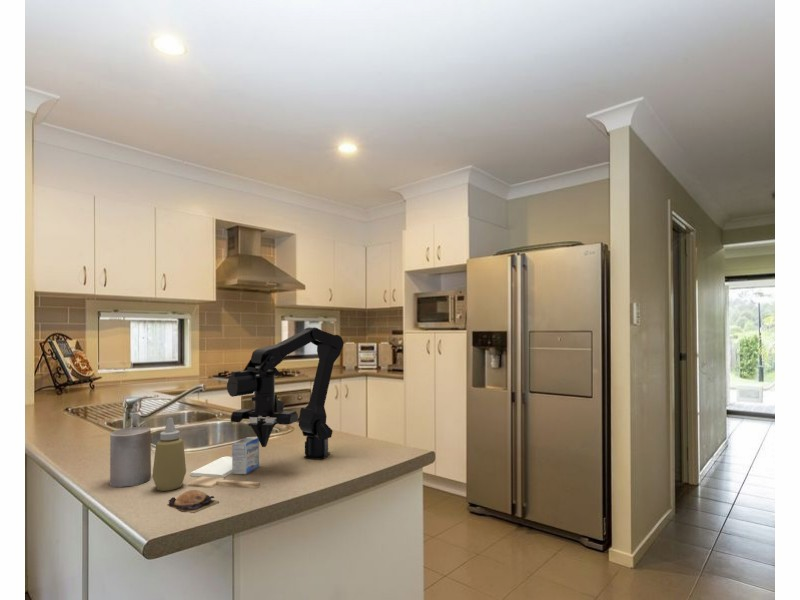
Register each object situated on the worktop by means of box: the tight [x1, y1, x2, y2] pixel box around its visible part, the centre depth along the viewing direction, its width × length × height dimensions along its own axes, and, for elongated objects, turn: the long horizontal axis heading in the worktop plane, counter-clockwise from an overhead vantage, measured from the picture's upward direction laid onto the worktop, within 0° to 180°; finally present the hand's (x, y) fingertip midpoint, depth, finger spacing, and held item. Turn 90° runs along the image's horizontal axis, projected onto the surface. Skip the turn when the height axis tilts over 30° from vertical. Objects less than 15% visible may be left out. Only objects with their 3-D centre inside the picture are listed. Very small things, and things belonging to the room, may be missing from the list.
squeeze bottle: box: [151, 417, 187, 492], centre depth 123 cm, size 8×8×18 cm
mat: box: [190, 455, 232, 478], centre depth 139 cm, size 10×16×1 cm, turn 167°
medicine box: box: [231, 436, 260, 475], centre depth 137 cm, size 8×4×9 cm, turn 168°
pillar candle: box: [109, 425, 152, 488], centre depth 128 cm, size 10×10×15 cm
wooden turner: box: [187, 476, 261, 489], centre depth 125 cm, size 19×6×1 cm, turn 77°
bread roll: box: [166, 489, 220, 514], centre depth 112 cm, size 11×8×4 cm
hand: (264, 446), depth 136 cm, fingers closed
